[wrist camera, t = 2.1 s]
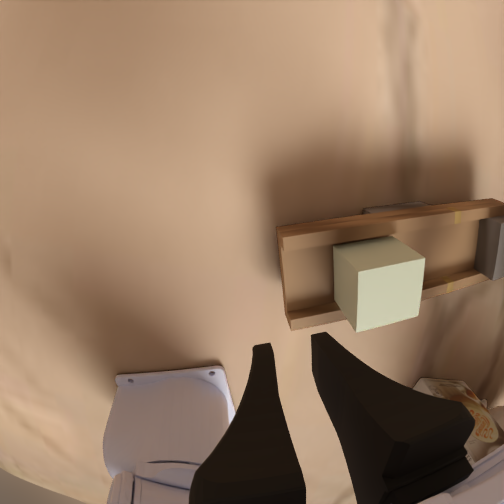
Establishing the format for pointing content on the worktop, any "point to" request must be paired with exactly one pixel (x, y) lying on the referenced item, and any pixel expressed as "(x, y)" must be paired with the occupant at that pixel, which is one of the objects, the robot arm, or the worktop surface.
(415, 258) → the block
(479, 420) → the coffee box
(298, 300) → the beam
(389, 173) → the worktop surface
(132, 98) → the worktop surface
